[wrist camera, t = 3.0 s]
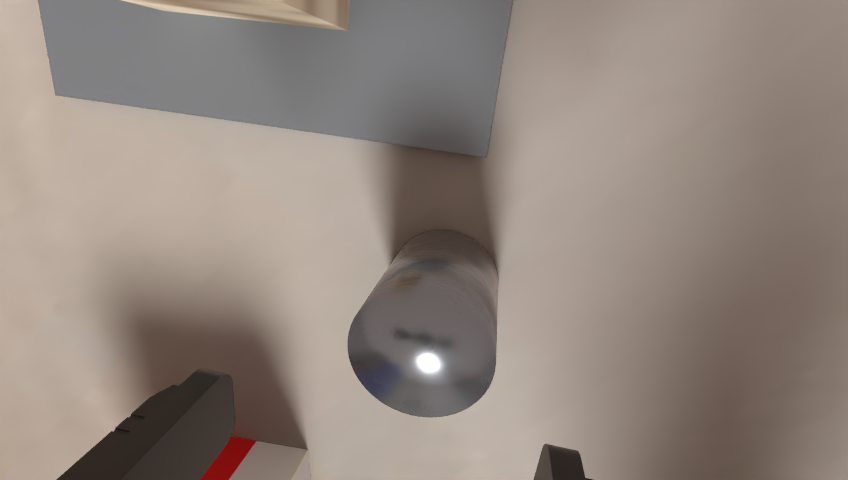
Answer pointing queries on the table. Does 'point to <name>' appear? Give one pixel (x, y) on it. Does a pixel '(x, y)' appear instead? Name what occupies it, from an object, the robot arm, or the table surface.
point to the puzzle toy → (259, 462)
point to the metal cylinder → (429, 327)
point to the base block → (264, 10)
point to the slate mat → (294, 67)
